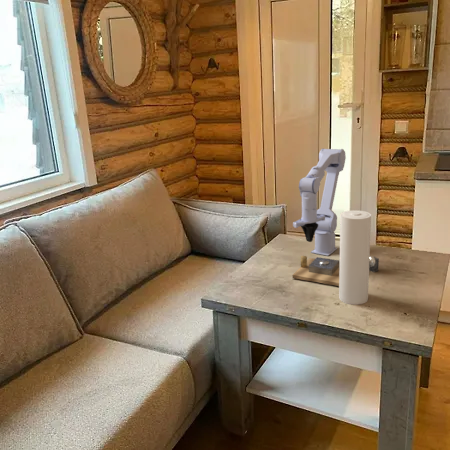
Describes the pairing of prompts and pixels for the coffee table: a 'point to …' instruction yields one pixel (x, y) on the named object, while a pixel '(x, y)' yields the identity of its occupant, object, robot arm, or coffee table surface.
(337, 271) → the wooden base with peg
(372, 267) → the dial indicator
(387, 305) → the coffee table surface
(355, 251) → the cylinder container
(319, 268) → the cover
